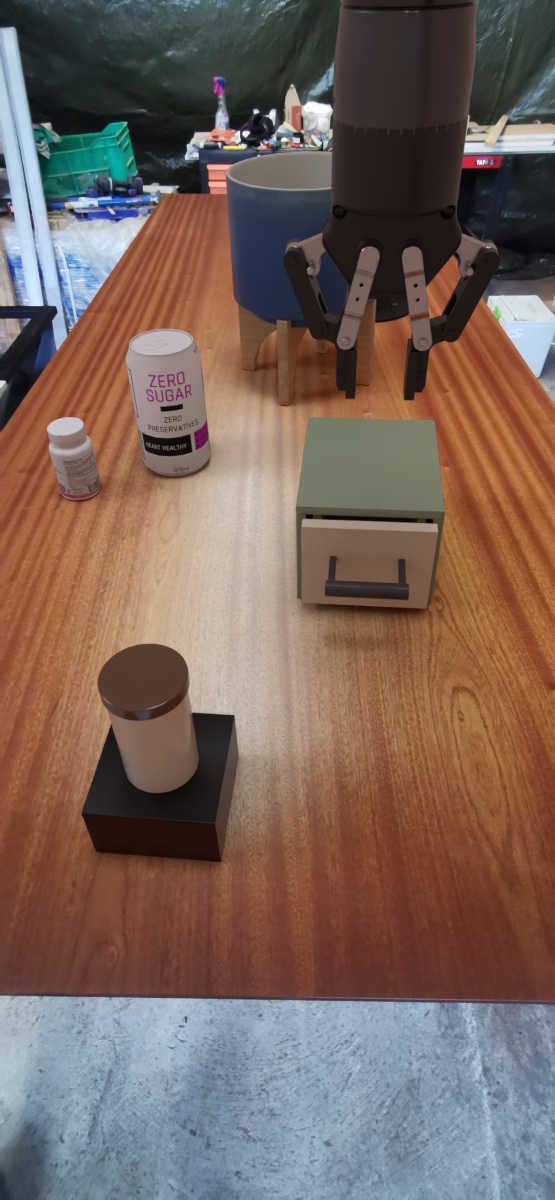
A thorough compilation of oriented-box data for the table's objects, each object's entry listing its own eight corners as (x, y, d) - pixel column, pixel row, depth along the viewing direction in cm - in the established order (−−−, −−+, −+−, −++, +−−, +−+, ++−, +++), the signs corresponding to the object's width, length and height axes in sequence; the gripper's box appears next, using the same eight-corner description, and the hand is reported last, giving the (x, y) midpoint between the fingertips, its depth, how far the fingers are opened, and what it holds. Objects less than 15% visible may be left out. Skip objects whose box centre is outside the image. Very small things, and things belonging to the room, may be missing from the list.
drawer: (429, 645, 65) (441, 567, 59) (297, 638, 66) (297, 561, 60) (419, 516, 79) (429, 442, 73) (311, 512, 80) (312, 439, 74)
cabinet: (431, 604, 70) (445, 511, 63) (297, 598, 71) (295, 506, 64) (423, 507, 82) (434, 419, 74) (308, 503, 83) (308, 416, 76)
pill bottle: (57, 484, 87) (40, 420, 81) (97, 475, 88) (83, 411, 83) (64, 505, 84) (46, 440, 78) (105, 496, 85) (91, 431, 79)
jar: (208, 731, 53) (195, 645, 47) (194, 798, 49) (178, 713, 43) (132, 726, 54) (110, 640, 48) (112, 793, 50) (85, 707, 44)
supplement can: (185, 436, 94) (170, 320, 84) (224, 462, 90) (213, 342, 80) (131, 459, 91) (109, 340, 81) (168, 487, 86) (150, 364, 76)
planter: (265, 341, 116) (258, 148, 98) (385, 355, 111) (400, 154, 93) (218, 396, 102) (199, 184, 85) (352, 415, 97) (362, 194, 80)
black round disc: (344, 284, 133) (346, 252, 129) (425, 295, 128) (428, 262, 124) (311, 314, 123) (311, 280, 119) (396, 328, 118) (399, 293, 114)
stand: (238, 754, 58) (234, 714, 54) (221, 861, 51) (215, 823, 48) (127, 747, 59) (116, 707, 55) (95, 851, 52) (80, 813, 49)
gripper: (266, 123, 39) (275, 418, 50) (542, 120, 38) (486, 423, 49) (280, 98, 44) (285, 369, 56) (520, 95, 43) (475, 373, 55)
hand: (379, 393), depth 52 cm, fingers open, 3 cm apart
